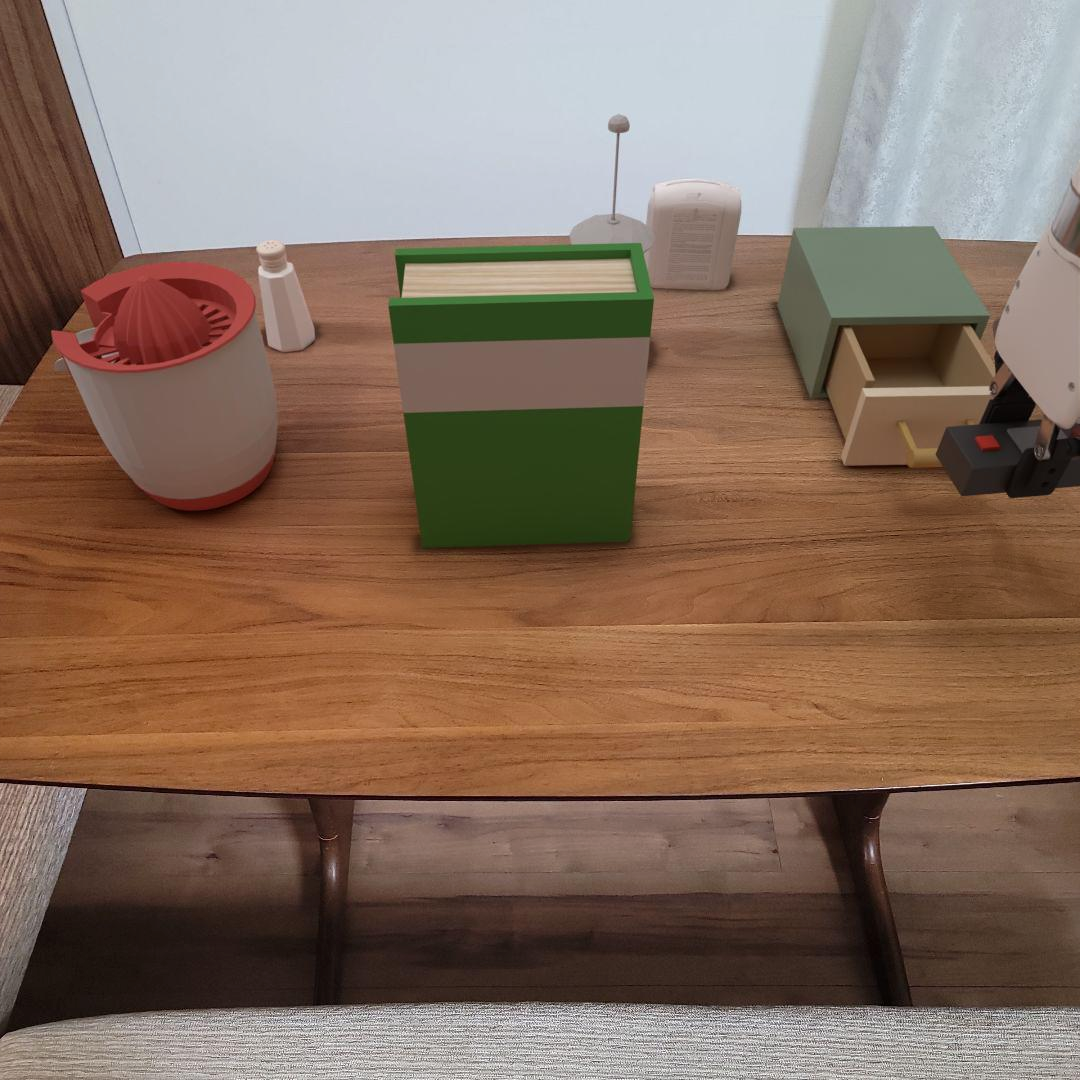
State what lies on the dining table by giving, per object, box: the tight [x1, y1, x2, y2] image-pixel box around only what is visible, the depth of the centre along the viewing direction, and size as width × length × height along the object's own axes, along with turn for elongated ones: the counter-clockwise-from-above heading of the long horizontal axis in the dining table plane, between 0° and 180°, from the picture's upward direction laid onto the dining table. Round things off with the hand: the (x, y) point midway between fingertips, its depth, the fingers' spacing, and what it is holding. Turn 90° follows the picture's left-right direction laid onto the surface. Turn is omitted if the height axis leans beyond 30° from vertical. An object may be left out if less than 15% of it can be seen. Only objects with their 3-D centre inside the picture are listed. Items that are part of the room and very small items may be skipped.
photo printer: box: [644, 177, 742, 291], centre depth 103 cm, size 10×4×12 cm, turn 86°
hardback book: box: [387, 243, 655, 549], centre depth 73 cm, size 18×7×24 cm, turn 92°
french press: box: [568, 113, 655, 253], centre depth 88 cm, size 10×12×25 cm
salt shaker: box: [255, 239, 316, 353], centre depth 96 cm, size 5×5×11 cm
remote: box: [936, 418, 1080, 497], centre depth 64 cm, size 9×4×3 cm, turn 97°
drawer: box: [823, 323, 996, 468], centre depth 85 cm, size 21×14×8 cm, turn 1°
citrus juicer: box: [50, 261, 279, 512], centre depth 79 cm, size 16×17×20 cm
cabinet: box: [776, 225, 991, 399], centre depth 95 cm, size 17×15×10 cm
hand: (1011, 466), depth 65 cm, fingers closed on remote, 4 cm apart
